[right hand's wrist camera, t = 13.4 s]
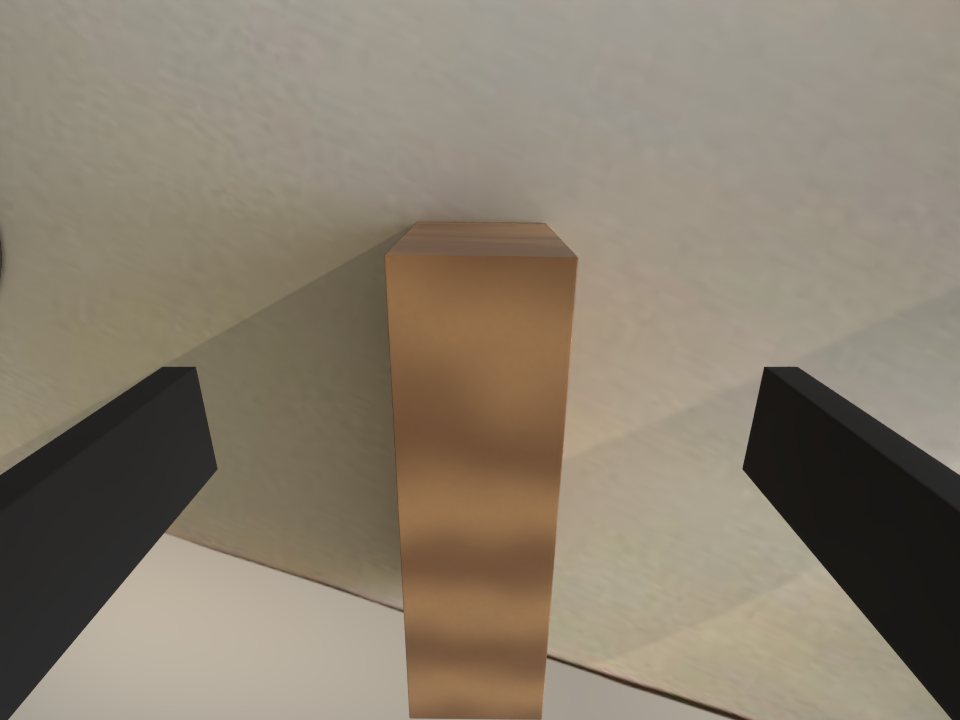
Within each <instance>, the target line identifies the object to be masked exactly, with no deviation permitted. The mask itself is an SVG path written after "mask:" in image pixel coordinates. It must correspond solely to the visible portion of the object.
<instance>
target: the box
mask: <svg viewBox="0 0 960 720" xmlns="http://www.w3.org/2000/svg"><path fill="white" fill-rule="evenodd" d="M384 258H385V276H386V295H387V313H388V331H389V349H390V368H391V386H392V404H393V423H394V441H395V459H396V477H397V496H398V514H399V532H400V551H401V569H402V587H403V606H404V624H405V641H406V660H407V679H408V697H409V715H410V718H430V719H523V720H525V719H526V720H541V719H542V708H543V695H544V683H545V670H546V658H547V645H548V632H549V620H550V607H551V595H552V582H553V569H554V557H555V544H556V532H557V519H558V506H559V494H560V481H561V469H562V456H563V443H564V431H565V418H566V406H567V393H568V380H569V368H570V355H571V343H572V330H573V317H574V305H575V292H576V279H577V267H578V257H577V256H576V255H575V254H574V253H573V252H572V251H571V250H570V249H569V247H568V246H567V245H566V244H565V243H564V242H563V241H562V240H561V239H560V238H559V237H558V236H557V235H556V234H555V233H554V232H553V231H552V229H551V228H550V227H549V226H548V225H547V224H540V223H457V222H416V223H415V224H414V226H413V227H412V228H411V229H410V230H409V231H408V232H407V233H406V234H405V235H404V236H403V237H402V238H401V239H400V240H399V241H398V242H397V243H396V244H395V245H394V246H393V247H392V248H391V249H390V250H389V251H388V252H387V253H386V254H385V256H384Z"/></svg>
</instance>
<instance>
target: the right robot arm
mask: <svg viewBox="0 0 960 720" xmlns="http://www.w3.org/2000/svg"><path fill="white" fill-rule="evenodd" d="M1 268H2V251H1V242H0V276H1ZM216 470H217V464H216V460H215V455H214V450H213V446H212V441H211V436H210V432H209V427H208V422H207V418H206V413H205V408H204V403H203V399H202V394H201V389H200V385H199V380H198V375H197V371H196V367H162V368H160V369H159V370H157V371H156V372H154V373H153V374H151V375H150V376H148V377H147V378H145V379H144V380H142V381H141V382H139V383H138V384H136V385H135V386H133V387H132V388H130V389H129V390H127V391H126V392H124V393H123V394H121V395H120V396H118V397H117V398H115V399H114V400H112V401H111V402H109V403H108V404H106V405H105V406H103V407H102V408H100V409H99V410H97V411H96V412H94V413H93V414H91V415H90V416H88V417H87V418H85V419H84V420H82V421H81V422H79V423H78V424H76V425H75V426H73V427H72V428H70V429H69V430H67V431H66V432H64V433H63V434H61V435H60V436H58V437H57V438H55V439H54V440H52V441H51V442H49V443H48V444H46V445H45V446H43V447H42V448H40V449H39V450H37V451H36V452H34V453H33V454H31V455H30V456H28V457H27V458H25V459H24V460H22V461H21V462H19V463H18V464H16V465H15V466H13V467H12V468H10V469H9V470H7V471H6V472H4V473H3V474H1V475H0V720H8V719H9V718H10V717H11V715H12V714H13V713H14V712H15V711H16V710H17V708H18V707H19V706H20V705H21V703H22V702H23V701H24V700H25V699H26V698H27V696H28V695H29V694H30V693H31V692H32V690H33V689H34V688H35V687H36V686H37V684H38V683H39V682H40V681H41V680H42V678H43V677H44V676H45V675H46V674H47V672H48V671H49V670H50V669H51V668H52V666H53V665H54V664H55V663H56V662H57V660H58V659H59V658H60V657H61V656H62V655H63V653H64V652H65V651H66V650H67V649H68V647H69V646H70V645H71V644H72V642H73V641H74V640H75V639H76V638H77V637H78V635H79V634H80V633H81V632H82V631H83V629H84V628H85V627H86V626H87V625H88V623H89V622H90V621H91V620H92V619H93V617H94V616H95V615H96V614H97V613H98V611H99V610H100V609H101V608H102V607H103V605H104V604H105V603H106V602H107V601H108V599H109V598H110V597H111V596H112V595H113V594H114V592H115V591H116V590H117V589H118V588H119V586H120V585H121V584H122V583H123V582H124V580H125V579H126V578H127V577H128V576H129V574H130V573H131V572H132V571H133V570H134V568H135V567H136V566H137V565H138V564H139V562H140V561H141V560H142V559H143V558H144V556H145V555H146V554H147V553H148V552H149V550H150V549H151V548H152V547H153V546H154V544H155V543H156V542H157V541H158V540H159V538H160V537H161V536H162V535H163V534H164V533H165V531H166V530H167V529H168V528H169V527H170V525H171V524H172V523H173V522H174V521H175V519H176V518H177V517H178V516H179V515H180V513H181V512H182V511H183V510H184V509H185V507H186V506H187V505H188V504H189V503H190V501H191V500H192V499H193V498H194V497H195V495H196V494H197V493H198V492H199V491H200V489H201V488H202V487H203V486H204V485H205V483H206V482H207V481H208V480H209V479H210V477H211V476H212V475H213V474H214V473H215V472H216ZM743 470H744V472H745V473H746V474H747V475H748V476H749V477H750V479H751V480H752V481H753V482H754V483H755V485H756V486H757V487H758V488H759V489H760V491H761V492H762V493H763V494H764V495H765V497H766V498H767V499H768V500H769V501H770V503H771V504H772V505H773V506H774V507H775V509H776V510H777V511H778V512H779V513H780V515H781V516H782V517H783V518H784V519H785V521H786V522H787V523H788V524H789V525H790V527H791V528H792V529H793V530H794V531H795V533H796V534H797V535H798V536H799V537H800V538H801V540H802V541H803V542H804V543H805V544H806V546H807V547H808V548H809V549H810V550H811V552H812V553H813V554H814V555H815V556H816V558H817V559H818V560H819V561H820V562H821V564H822V565H823V566H824V567H825V568H826V570H827V571H828V572H829V573H830V574H831V576H832V577H833V578H834V579H835V580H836V582H837V583H838V584H839V585H840V586H841V588H842V589H843V590H844V591H845V592H846V594H847V595H848V596H849V597H850V598H851V599H852V601H853V602H854V603H855V604H856V605H857V607H858V608H859V609H860V610H861V611H862V613H863V614H864V615H865V616H866V617H867V619H868V620H869V621H870V622H871V623H872V625H873V626H874V627H875V628H876V629H877V631H878V632H879V633H880V634H881V635H882V637H883V638H884V639H885V640H886V641H887V643H888V644H889V645H890V646H891V647H892V649H893V650H894V651H895V652H896V653H897V655H898V656H899V657H900V658H901V659H902V661H903V662H904V663H905V664H906V665H907V666H908V668H909V669H910V670H911V671H912V672H913V674H914V675H915V676H916V677H917V678H918V680H919V681H920V682H921V683H922V684H923V686H924V687H925V688H926V689H927V690H928V692H929V693H930V694H931V695H932V696H933V698H934V699H935V700H936V701H937V702H938V704H939V705H940V706H941V707H942V708H943V710H944V711H945V712H946V713H947V714H948V716H949V717H950V718H951V719H952V720H960V475H959V474H957V473H956V472H954V471H953V470H951V469H950V468H948V467H947V466H945V465H944V464H942V463H941V462H939V461H938V460H936V459H935V458H933V457H932V456H930V455H929V454H927V453H926V452H924V451H923V450H921V449H920V448H918V447H917V446H915V445H914V444H912V443H911V442H909V441H908V440H906V439H905V438H903V437H902V436H900V435H899V434H897V433H896V432H894V431H893V430H891V429H890V428H888V427H887V426H885V425H884V424H882V423H881V422H879V421H878V420H876V419H875V418H873V417H872V416H870V415H869V414H867V413H866V412H864V411H863V410H861V409H860V408H858V407H857V406H855V405H854V404H852V403H851V402H849V401H848V400H846V399H845V398H843V397H842V396H840V395H839V394H837V393H836V392H834V391H833V390H831V389H830V388H828V387H827V386H825V385H824V384H822V383H821V382H819V381H818V380H816V379H815V378H813V377H812V376H810V375H809V374H807V373H806V372H804V371H803V370H801V369H800V368H798V367H764V371H763V375H762V380H761V385H760V389H759V394H758V399H757V403H756V408H755V413H754V418H753V422H752V427H751V432H750V436H749V441H748V446H747V450H746V455H745V460H744V464H743Z"/></svg>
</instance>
